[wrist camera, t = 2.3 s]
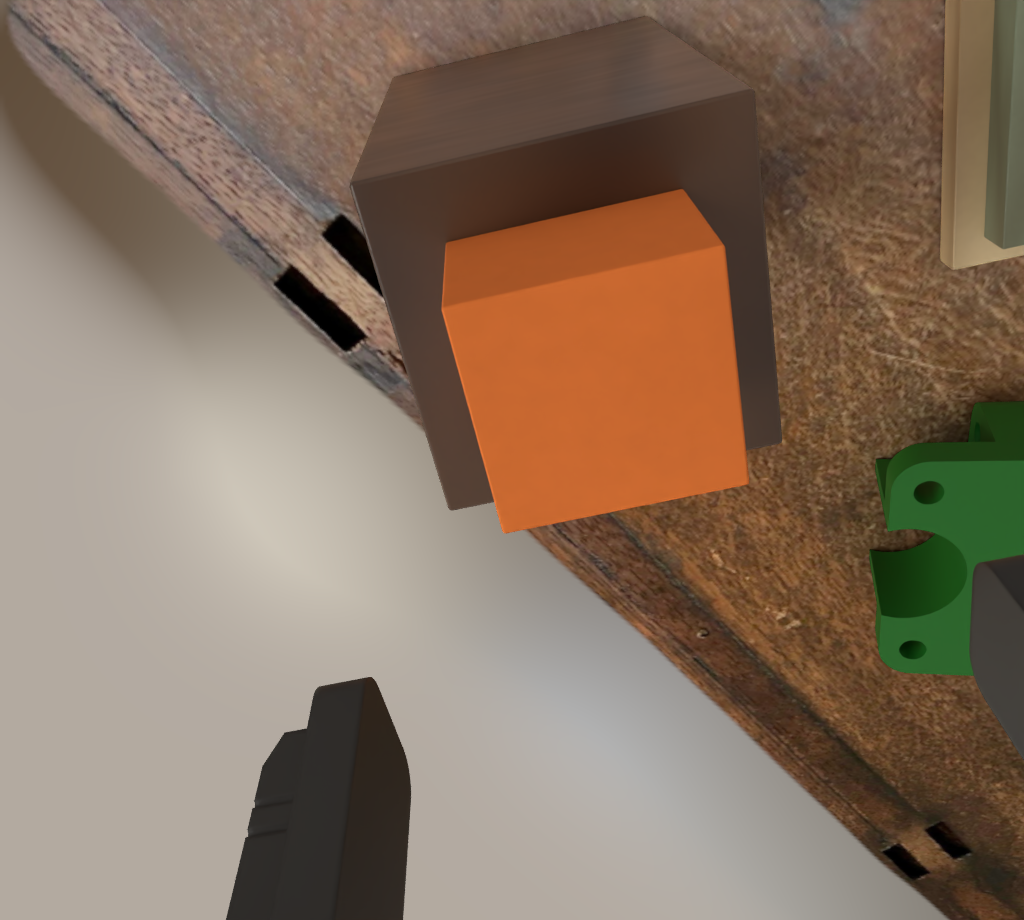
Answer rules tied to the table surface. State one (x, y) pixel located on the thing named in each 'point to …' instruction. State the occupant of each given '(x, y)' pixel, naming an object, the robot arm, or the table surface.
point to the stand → (557, 192)
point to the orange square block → (598, 359)
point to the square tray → (983, 133)
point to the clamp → (947, 537)
